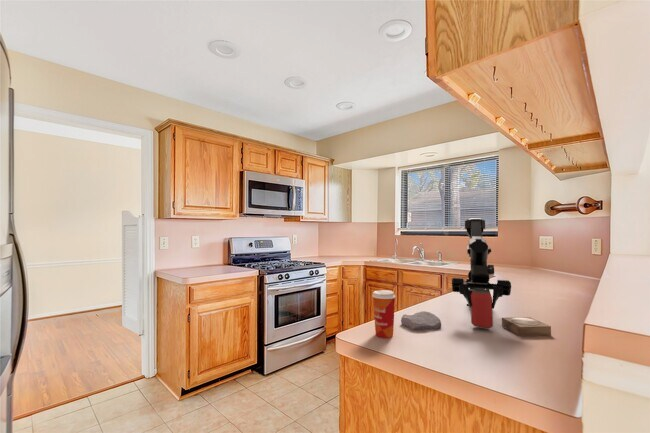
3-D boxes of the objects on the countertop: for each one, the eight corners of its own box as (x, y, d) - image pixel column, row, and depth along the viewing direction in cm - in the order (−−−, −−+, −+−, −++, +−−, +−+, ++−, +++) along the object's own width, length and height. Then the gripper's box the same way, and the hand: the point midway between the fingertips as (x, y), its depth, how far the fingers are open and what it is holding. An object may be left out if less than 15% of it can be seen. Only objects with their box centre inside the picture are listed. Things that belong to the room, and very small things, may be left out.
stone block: (444, 333, 108) (426, 319, 118) (445, 320, 108) (427, 307, 117) (415, 339, 105) (399, 324, 114) (416, 325, 104) (399, 312, 113)
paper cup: (368, 333, 104) (367, 290, 104) (387, 329, 107) (387, 289, 107) (380, 340, 97) (380, 295, 97) (401, 337, 100) (400, 293, 100)
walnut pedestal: (502, 326, 109) (501, 317, 109) (530, 325, 109) (530, 316, 110) (520, 336, 99) (519, 326, 99) (551, 335, 99) (550, 325, 100)
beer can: (473, 328, 105) (472, 292, 105) (470, 321, 111) (469, 288, 111) (494, 329, 103) (493, 293, 103) (490, 323, 109) (489, 289, 109)
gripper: (451, 255, 115) (451, 292, 104) (509, 257, 107) (515, 296, 97) (452, 273, 122) (452, 309, 111) (507, 276, 114) (512, 314, 104)
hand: (481, 307), depth 106 cm, fingers closed on beer can, 6 cm apart
